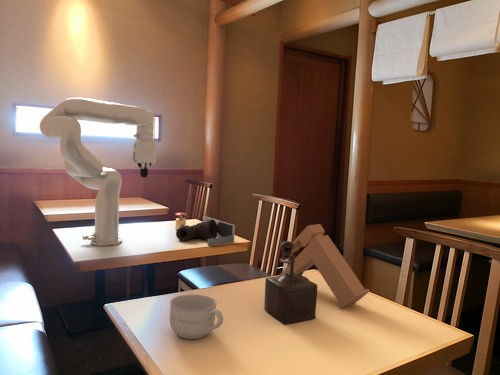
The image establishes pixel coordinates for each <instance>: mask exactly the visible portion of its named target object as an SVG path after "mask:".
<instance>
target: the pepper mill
mask: <svg viewBox="0 0 500 375" xmlns="http://www.w3.org/2000/svg"><path fill="white" fill-rule="evenodd" d="M292 242H293V241H288V240H287V241H285V240H284V241H283V242H281V243H280V246H279V247H280V249H281V250H282V252H284V253H283V255H282V258H280V259H279V262H280V263H283V264H288V265H289V264H290V272H289V273H286V274H283V275H281V276H279V275H277V276H275V275H274V276H270V277H265V284H264V285H265V286H264V308H263V310H264V311H265V312H266V314H268V315H269V316H271V317H272V318H274V320H276V321H278V322H279V323H281V324H283V325H284V326H285V325H286V326H287V325H293V324H297V323H302V322H307V321H311V320H315V319H316V318H317V316H316V314H317V313H316V312H317V311H316V310H317V301H318V284H317V283H315V282H313V281H311V280H309V278H308V277H306V276H304V275H303V274H304V272H300V274H297V273H294V272H293V270H294V263H295V260H294V259H295V258H296V256H295V255H294V254H292V252H291V251H292V249H293V246H294V245H293V243H292Z"/></svg>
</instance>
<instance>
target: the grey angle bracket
mask: <svg viewBox="0 0 500 375" xmlns="http://www.w3.org/2000/svg"><path fill="white" fill-rule="evenodd" d="M211 219H213V220H215V222H216V224H217V237H216V238H210V239H207V246H208V247H212V246H221V245H226V244H234V243H235V232H236V231H235V229H236V225H235V224H232V223H228V222H225V221H221V220H218V219H216V218H212V217H209V216H205V215H204V216H202V222H206V221H208V220H211Z"/></svg>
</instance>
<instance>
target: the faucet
mask: <svg viewBox="0 0 500 375" xmlns="http://www.w3.org/2000/svg"><path fill="white" fill-rule="evenodd" d="M291 242H292V243H293V245H294V246H293V249H292V251H291V253H295V252H298V251H299V250H300V249H301V248H302V247H303V248H304V249H303V250H302V251H301V252H300V253H299V254H298V255H297V256H295V258H294V260H295V263H294V270H293V272H294V273H297V274H300V272H303V273H305V272H306V271H307V270H308V269H310V268H311V267H312V266H315V267H316V269H317V270H318V272H319V274H320V275H321V277H322V279H323V280H324V282H325V283H326V285H327V286H328V288H329V289H330V291H331V292H332V293H333V295H334V297H335V299H336V300H337V301H338V303H339V306H338V308H339V310H341V309H342V310H343V309H344V308H347V307H350V306H352V305H355V304H356V303H357V302H358V301H360V300H361V299H362V298H364V297H365V296H366V295H367V294H369V293H370V291H371V290H370V289H369V288H367V289H366V288H365V287H364V286H363V284H362V283H361V281H360V280H359V278H358V277H357V275H356V274H355V273H354V271H353V269H352V268H351V267H350V265H349V264H348V262H347V261H346V259H345V258H344V257H343V255H342V254H341V252H340V251H339V249H338V248H337V246H336V244H334V242H333V241H332V239H331V238H330V236H329V235H328V234H326V235H325V229H324V227H323V226H322V224H320V223H317V224H310V225H307V226H306V227H305V228H304V229H303V230H302V231H301V232H300V234H298V236H296V238H295V239H294V240H293V241H291ZM282 252H283V251H282ZM283 253H284V252H283ZM289 272H290V263H289V264H288V266H286V268H284V270H283V271H282V272H281V273H280V274H279V275H278V276H281V275H283V274H286V273H289Z"/></svg>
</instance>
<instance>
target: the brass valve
mask: <svg viewBox="0 0 500 375" xmlns="http://www.w3.org/2000/svg"><path fill="white" fill-rule="evenodd" d="M174 215H175V216H177V217H176V218H175V232H176V231H177V230H178V229H179V228H180V227H182V226H187V218H185V216H187V215H188V214H187V213H186V212H175V214H174Z"/></svg>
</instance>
